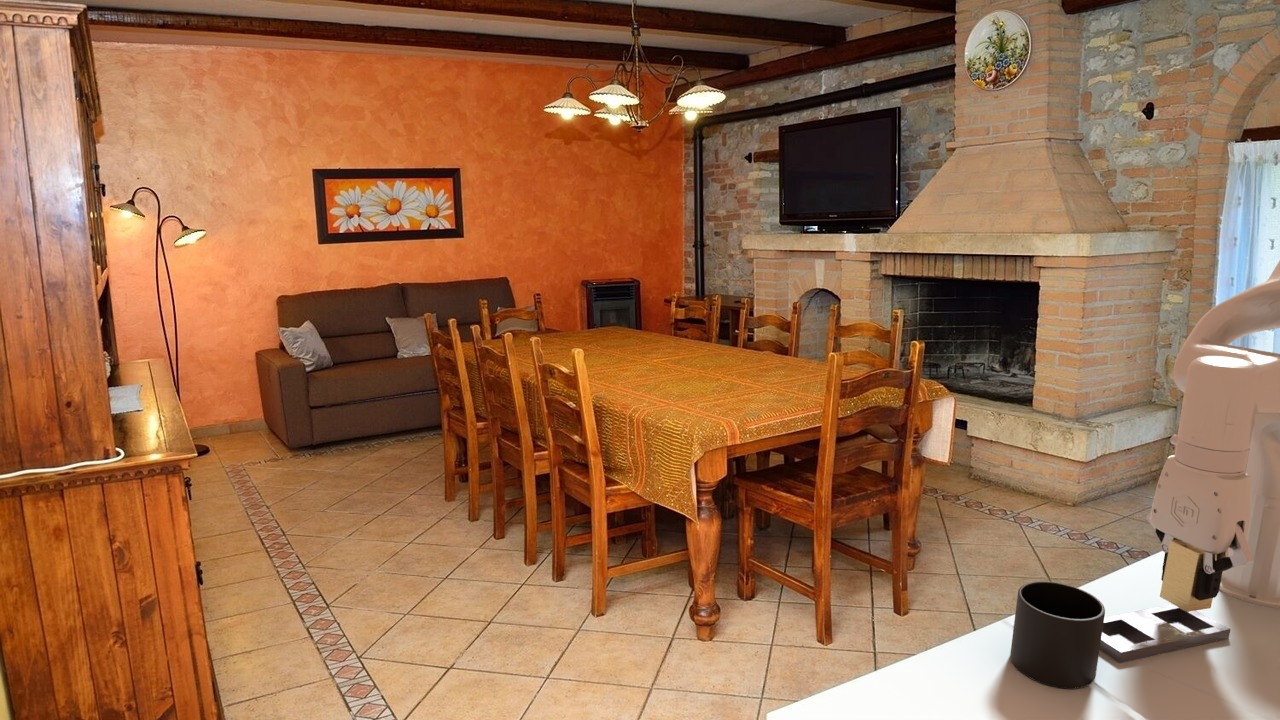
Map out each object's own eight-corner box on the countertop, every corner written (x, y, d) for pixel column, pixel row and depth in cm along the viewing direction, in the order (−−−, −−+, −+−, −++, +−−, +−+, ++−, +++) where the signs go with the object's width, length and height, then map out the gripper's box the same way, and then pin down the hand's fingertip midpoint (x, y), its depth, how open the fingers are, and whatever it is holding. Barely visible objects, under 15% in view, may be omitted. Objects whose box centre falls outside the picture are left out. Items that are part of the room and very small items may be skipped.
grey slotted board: (1179, 615, 115) (1181, 602, 114) (1227, 642, 108) (1230, 629, 108) (1074, 637, 109) (1076, 623, 109) (1118, 667, 103) (1121, 652, 102)
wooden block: (1182, 593, 112) (1193, 537, 110) (1210, 608, 108) (1222, 550, 106) (1159, 596, 110) (1170, 540, 109) (1187, 611, 107) (1198, 553, 105)
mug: (1129, 675, 101) (1140, 607, 99) (1053, 697, 97) (1063, 626, 95) (1065, 635, 110) (1073, 572, 108) (993, 653, 105) (1000, 588, 103)
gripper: (1130, 438, 111) (1112, 564, 115) (1254, 483, 96) (1228, 627, 100) (1173, 432, 113) (1154, 556, 118) (1301, 475, 98) (1274, 616, 102)
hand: (1188, 587), depth 109 cm, fingers closed on wooden block, 4 cm apart
